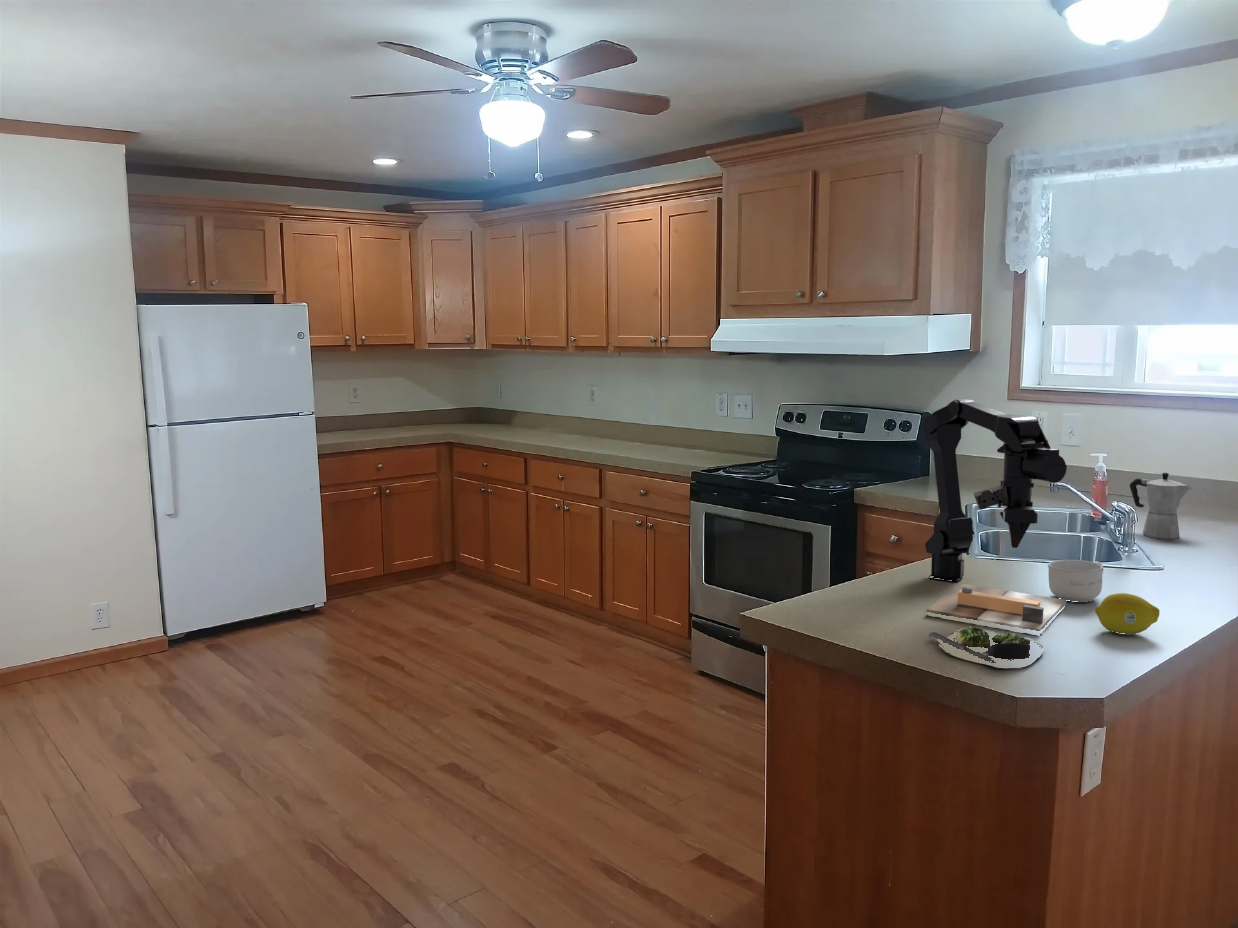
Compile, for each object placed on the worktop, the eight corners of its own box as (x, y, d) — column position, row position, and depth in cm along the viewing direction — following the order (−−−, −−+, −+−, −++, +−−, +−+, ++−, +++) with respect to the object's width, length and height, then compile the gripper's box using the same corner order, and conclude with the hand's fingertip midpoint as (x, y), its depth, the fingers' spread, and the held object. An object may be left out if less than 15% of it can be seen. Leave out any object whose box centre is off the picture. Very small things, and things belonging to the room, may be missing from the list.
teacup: (1071, 608, 191) (1073, 572, 189) (1035, 594, 201) (1036, 559, 200) (1124, 602, 194) (1127, 566, 193) (1086, 588, 205) (1088, 554, 203)
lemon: (1091, 635, 174) (1094, 595, 173) (1095, 623, 181) (1098, 585, 180) (1156, 644, 169) (1159, 603, 167) (1158, 632, 175) (1161, 593, 174)
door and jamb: (926, 616, 187) (927, 595, 187) (961, 589, 205) (961, 570, 205) (1039, 636, 174) (1040, 614, 173) (1066, 606, 192) (1067, 586, 191)
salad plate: (909, 653, 167) (910, 629, 167) (949, 629, 180) (950, 606, 180) (1016, 679, 154) (1018, 654, 154) (1051, 651, 167) (1052, 627, 166)
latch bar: (957, 603, 189) (958, 588, 188) (961, 600, 191) (961, 585, 190) (1036, 616, 180) (1037, 600, 179) (1039, 613, 182) (1040, 597, 181)
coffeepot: (1192, 536, 252) (1197, 473, 250) (1182, 542, 246) (1187, 477, 243) (1132, 528, 263) (1136, 467, 261) (1121, 533, 257) (1125, 471, 254)
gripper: (974, 468, 202) (971, 535, 204) (980, 481, 184) (977, 555, 187) (1028, 469, 199) (1024, 538, 201) (1039, 483, 181) (1035, 558, 183)
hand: (1014, 547), depth 193 cm, fingers closed
